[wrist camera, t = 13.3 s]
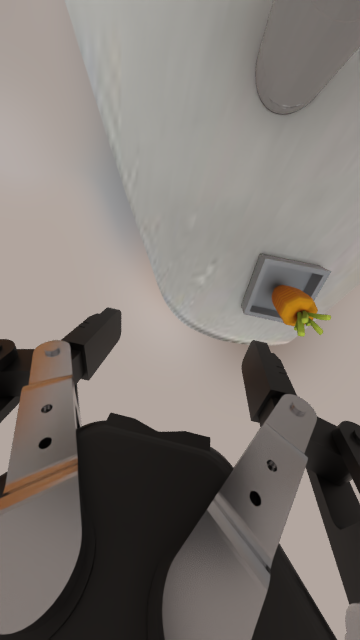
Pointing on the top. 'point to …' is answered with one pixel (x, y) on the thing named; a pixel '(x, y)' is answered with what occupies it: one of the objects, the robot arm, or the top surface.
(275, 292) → the carrot
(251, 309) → the bin
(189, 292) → the top surface
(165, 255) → the top surface
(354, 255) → the top surface
